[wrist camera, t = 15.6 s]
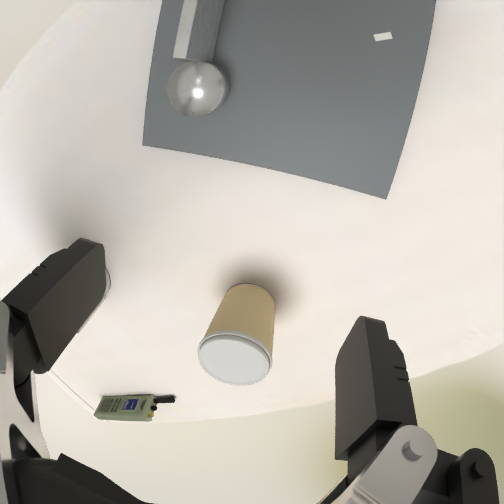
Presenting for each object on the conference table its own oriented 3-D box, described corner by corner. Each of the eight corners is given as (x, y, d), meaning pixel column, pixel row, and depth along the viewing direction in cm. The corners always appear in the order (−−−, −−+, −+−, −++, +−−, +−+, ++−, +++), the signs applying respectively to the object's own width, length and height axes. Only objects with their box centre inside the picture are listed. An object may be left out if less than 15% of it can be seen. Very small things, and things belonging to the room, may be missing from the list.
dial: (224, 117, 33) (201, 128, 26) (174, 109, 34) (139, 119, 26) (262, -58, 22) (249, -90, 15) (209, -60, 22) (184, -89, 15)
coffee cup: (212, 315, 50) (190, 372, 40) (227, 269, 46) (203, 326, 35) (268, 334, 51) (257, 394, 40) (289, 291, 46) (282, 353, 36)
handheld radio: (101, 394, 73) (170, 390, 64) (109, 401, 74) (179, 398, 66) (91, 413, 67) (161, 415, 59) (100, 420, 69) (171, 423, 60)
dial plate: (383, 195, 37) (386, 200, 35) (147, 142, 38) (141, 145, 37) (435, -26, 21) (440, -29, 20) (186, -71, 23) (181, -75, 21)
